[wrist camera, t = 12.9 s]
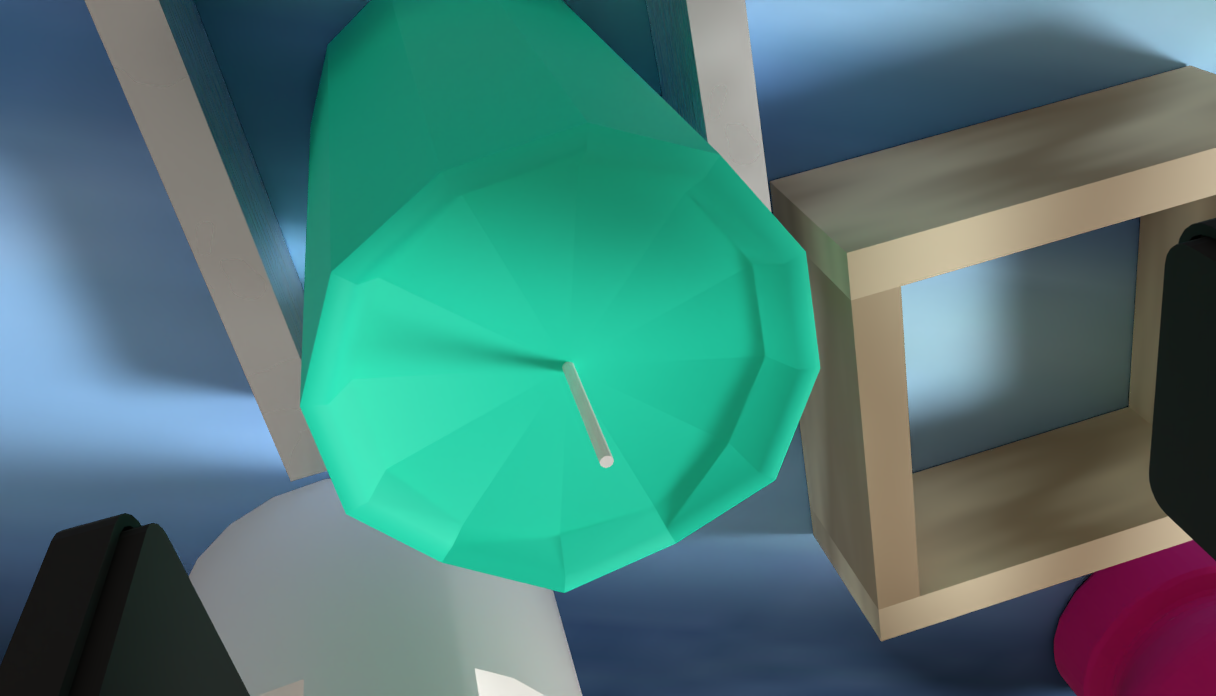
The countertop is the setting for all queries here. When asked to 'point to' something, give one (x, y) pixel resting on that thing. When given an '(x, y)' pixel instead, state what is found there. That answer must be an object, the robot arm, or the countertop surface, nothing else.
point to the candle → (536, 297)
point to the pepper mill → (1143, 627)
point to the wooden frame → (957, 238)
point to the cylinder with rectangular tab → (370, 611)
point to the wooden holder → (243, 216)
